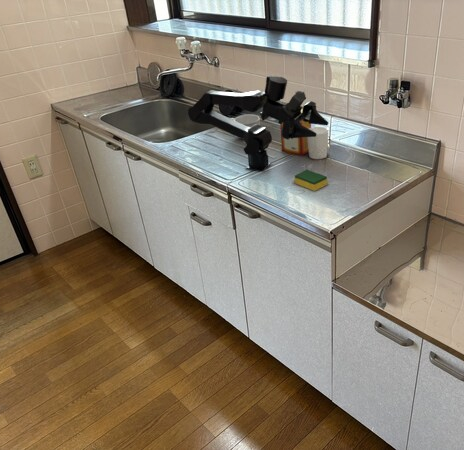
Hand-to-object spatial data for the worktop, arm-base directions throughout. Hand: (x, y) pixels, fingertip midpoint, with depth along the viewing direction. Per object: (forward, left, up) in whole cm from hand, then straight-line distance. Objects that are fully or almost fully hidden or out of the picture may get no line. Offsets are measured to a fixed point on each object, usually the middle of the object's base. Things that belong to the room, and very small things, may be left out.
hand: (322, 129), depth 152 cm
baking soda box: (-20, +19, -17) cm, 32 cm away
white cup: (-10, +17, -17) cm, 26 cm away
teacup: (-48, +25, -13) cm, 55 cm away
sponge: (-2, -6, -17) cm, 18 cm away
